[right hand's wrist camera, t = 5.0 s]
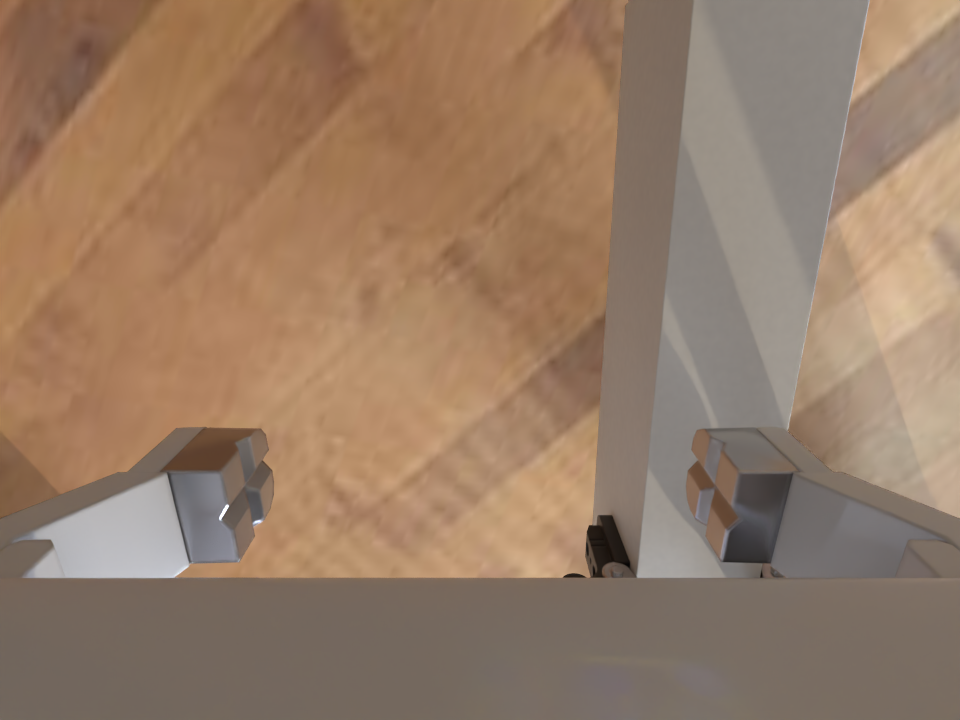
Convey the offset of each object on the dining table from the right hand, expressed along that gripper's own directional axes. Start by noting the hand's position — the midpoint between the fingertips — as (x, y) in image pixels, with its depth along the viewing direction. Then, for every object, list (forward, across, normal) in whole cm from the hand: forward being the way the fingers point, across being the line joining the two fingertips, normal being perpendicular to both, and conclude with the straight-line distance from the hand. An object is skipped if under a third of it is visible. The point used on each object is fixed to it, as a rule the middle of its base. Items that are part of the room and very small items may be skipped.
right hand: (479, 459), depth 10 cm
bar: (+17, +9, -2) cm, 19 cm away
